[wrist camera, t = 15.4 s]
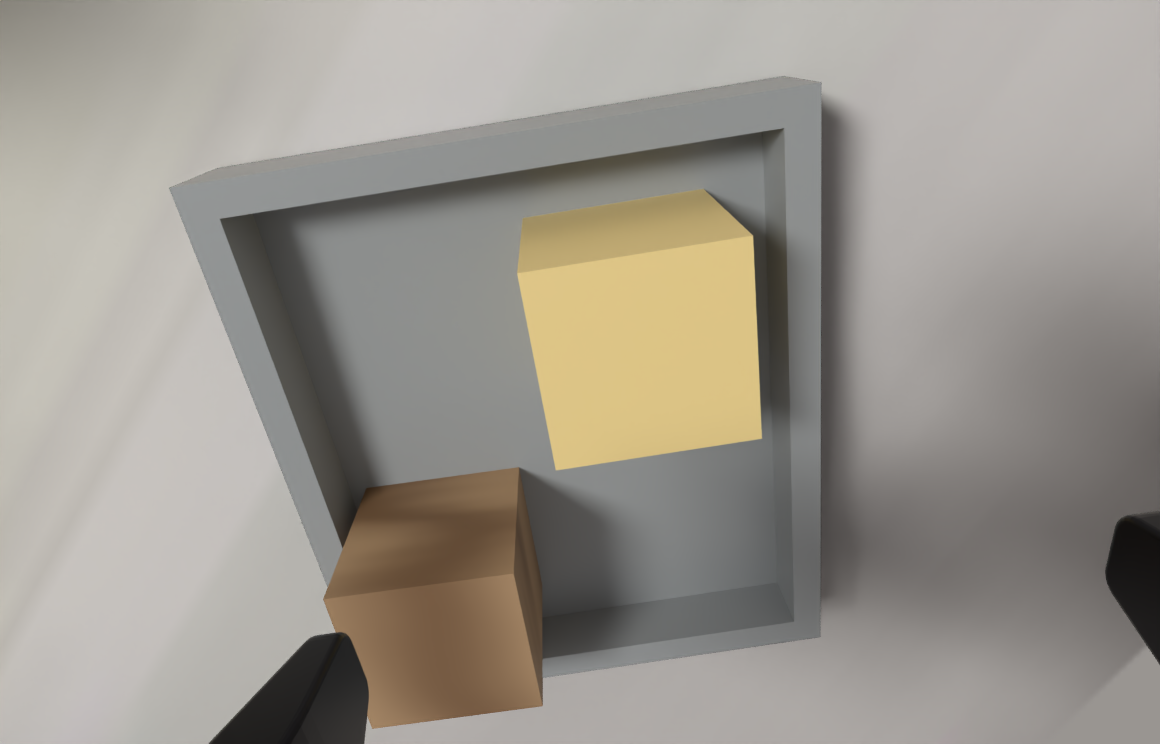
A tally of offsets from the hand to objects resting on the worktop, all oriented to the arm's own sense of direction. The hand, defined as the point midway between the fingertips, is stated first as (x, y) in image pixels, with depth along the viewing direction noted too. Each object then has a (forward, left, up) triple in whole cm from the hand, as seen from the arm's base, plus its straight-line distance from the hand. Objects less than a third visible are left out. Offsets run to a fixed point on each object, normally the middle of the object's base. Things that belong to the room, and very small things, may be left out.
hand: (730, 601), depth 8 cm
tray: (-3, -4, -12) cm, 13 cm away
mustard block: (0, 0, -11) cm, 11 cm away
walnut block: (-6, -7, -11) cm, 15 cm away
